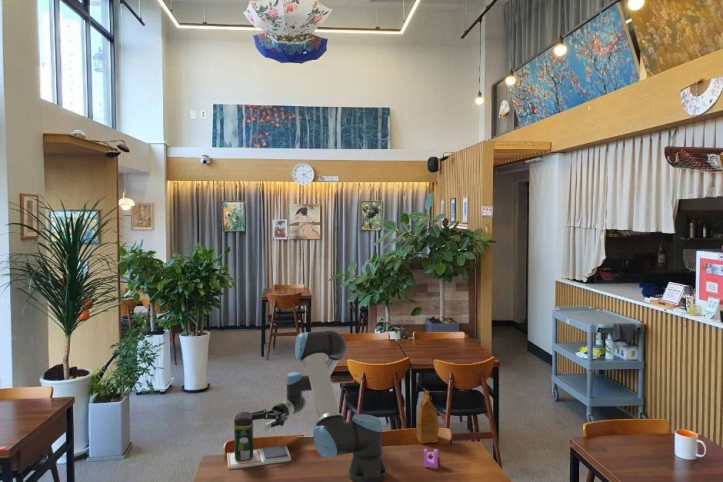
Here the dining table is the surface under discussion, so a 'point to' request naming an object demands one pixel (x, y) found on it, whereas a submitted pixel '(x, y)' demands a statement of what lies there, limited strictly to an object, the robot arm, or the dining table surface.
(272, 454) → the ink pad
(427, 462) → the bracket
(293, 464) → the dining table surface
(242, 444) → the coffee jar
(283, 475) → the dining table surface
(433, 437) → the coffee package
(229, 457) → the board
